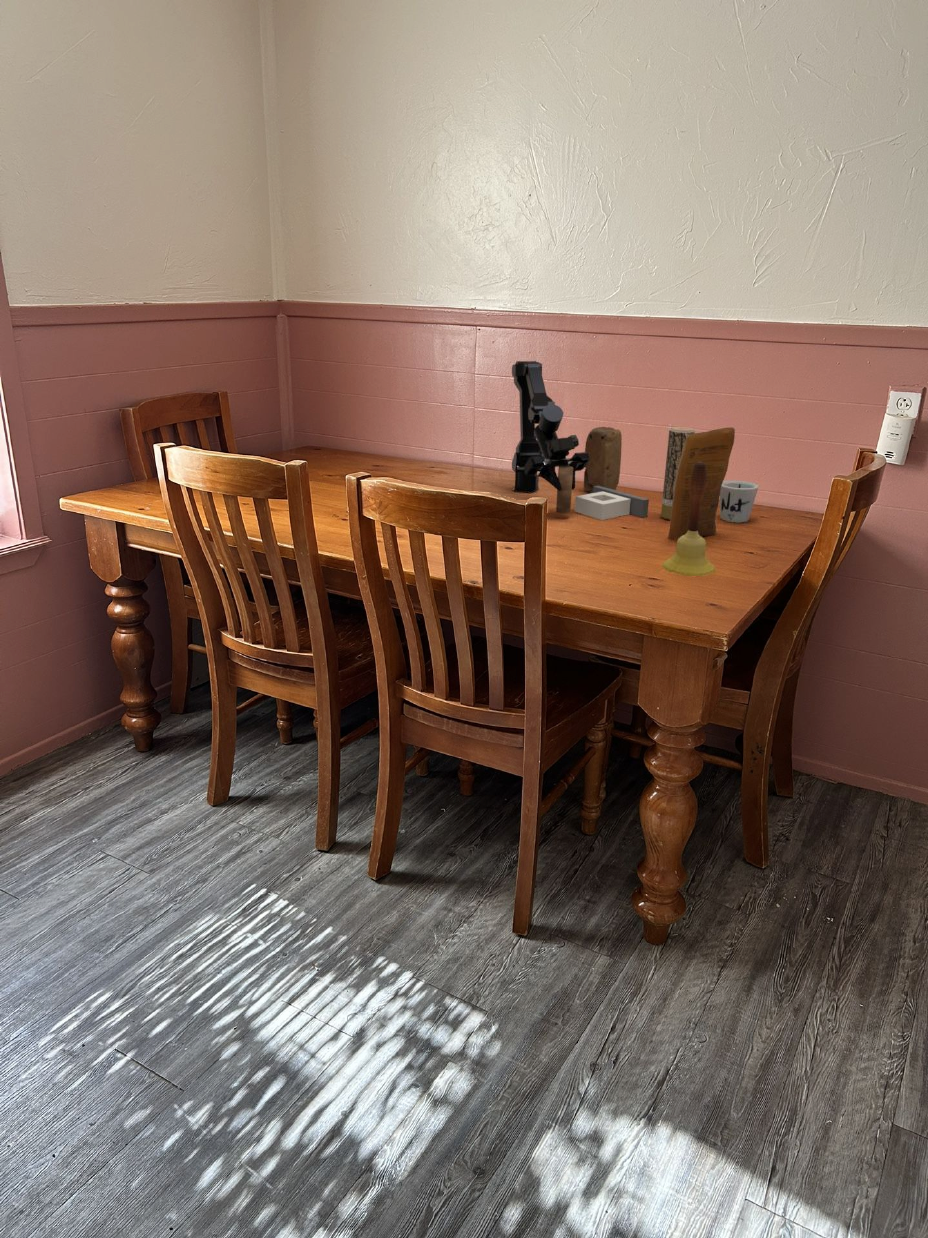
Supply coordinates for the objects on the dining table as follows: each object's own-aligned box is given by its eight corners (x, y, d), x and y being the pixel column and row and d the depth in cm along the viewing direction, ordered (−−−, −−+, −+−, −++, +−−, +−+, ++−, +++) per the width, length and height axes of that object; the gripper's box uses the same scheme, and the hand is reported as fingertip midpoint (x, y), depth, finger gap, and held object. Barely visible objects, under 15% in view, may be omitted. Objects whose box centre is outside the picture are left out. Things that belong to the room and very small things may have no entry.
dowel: (554, 512, 245) (556, 467, 240) (558, 509, 249) (561, 465, 244) (567, 514, 244) (570, 469, 239) (572, 510, 247) (575, 466, 242)
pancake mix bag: (730, 534, 233) (744, 428, 223) (675, 543, 225) (687, 433, 214) (713, 528, 239) (725, 424, 228) (658, 536, 230) (668, 429, 220)
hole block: (574, 511, 253) (575, 496, 251) (601, 506, 259) (602, 491, 257) (602, 520, 245) (603, 504, 243) (629, 514, 251) (630, 498, 249)
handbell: (667, 576, 201) (678, 467, 192) (657, 559, 212) (668, 456, 203) (721, 577, 201) (735, 468, 191) (709, 560, 212) (721, 457, 203)
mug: (711, 521, 246) (715, 485, 242) (723, 509, 258) (727, 475, 254) (749, 526, 241) (754, 490, 237) (760, 514, 253) (764, 479, 250)
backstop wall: (592, 502, 263) (593, 486, 261) (597, 501, 264) (598, 485, 262) (642, 517, 248) (644, 500, 246) (647, 516, 249) (648, 499, 247)
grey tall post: (685, 521, 244) (695, 431, 235) (660, 520, 245) (669, 430, 236) (684, 515, 250) (694, 427, 241) (660, 514, 252) (669, 426, 242)
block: (620, 494, 273) (625, 429, 266) (603, 497, 269) (608, 431, 261) (595, 487, 281) (600, 424, 274) (578, 490, 277) (582, 426, 269)
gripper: (530, 427, 237) (549, 476, 232) (589, 423, 244) (608, 470, 239) (515, 450, 246) (533, 498, 241) (572, 446, 254) (590, 492, 249)
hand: (567, 489), depth 242 cm, fingers closed on dowel, 4 cm apart
